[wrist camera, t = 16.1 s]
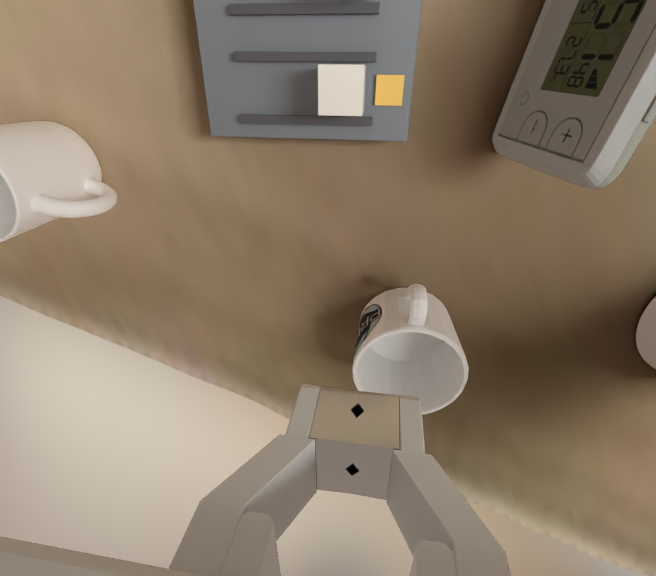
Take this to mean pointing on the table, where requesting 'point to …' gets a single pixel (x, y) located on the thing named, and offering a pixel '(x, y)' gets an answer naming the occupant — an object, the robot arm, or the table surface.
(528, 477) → the table surface
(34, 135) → the mug
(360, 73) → the slider
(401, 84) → the switch unit
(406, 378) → the mug
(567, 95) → the digital clock
